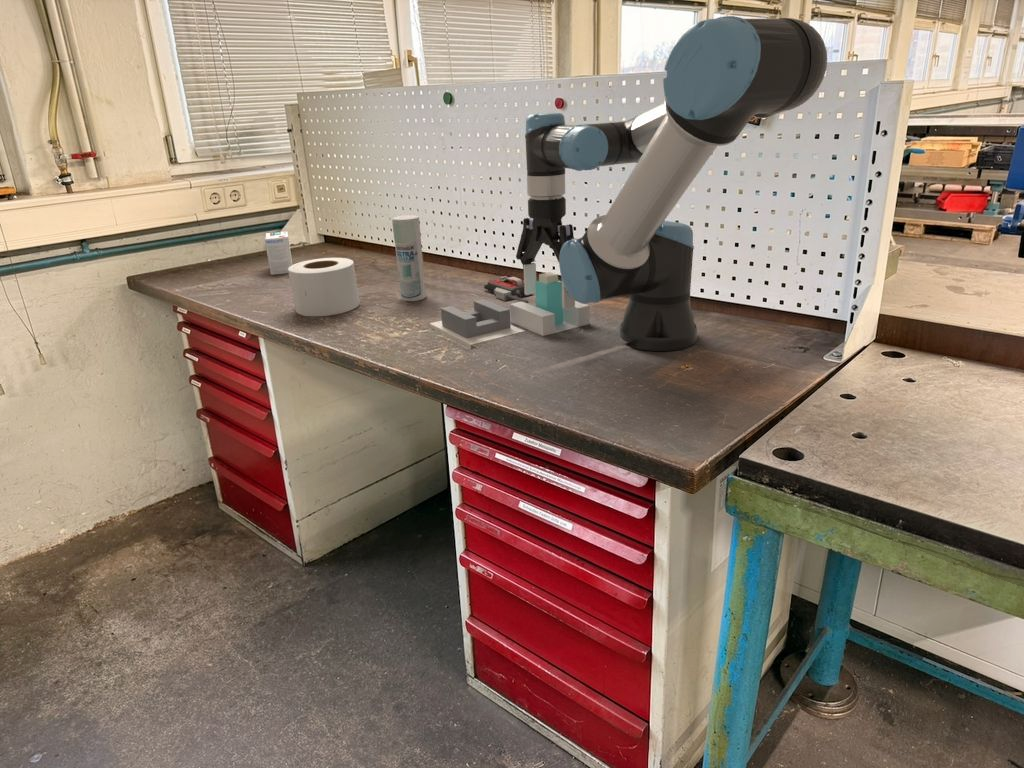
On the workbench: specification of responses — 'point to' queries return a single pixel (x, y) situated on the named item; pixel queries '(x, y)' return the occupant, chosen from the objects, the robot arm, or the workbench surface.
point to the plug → (550, 295)
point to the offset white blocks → (548, 318)
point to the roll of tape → (324, 286)
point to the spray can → (409, 257)
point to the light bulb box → (278, 252)
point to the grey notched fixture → (475, 323)
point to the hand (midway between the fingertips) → (548, 300)
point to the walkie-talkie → (507, 288)
